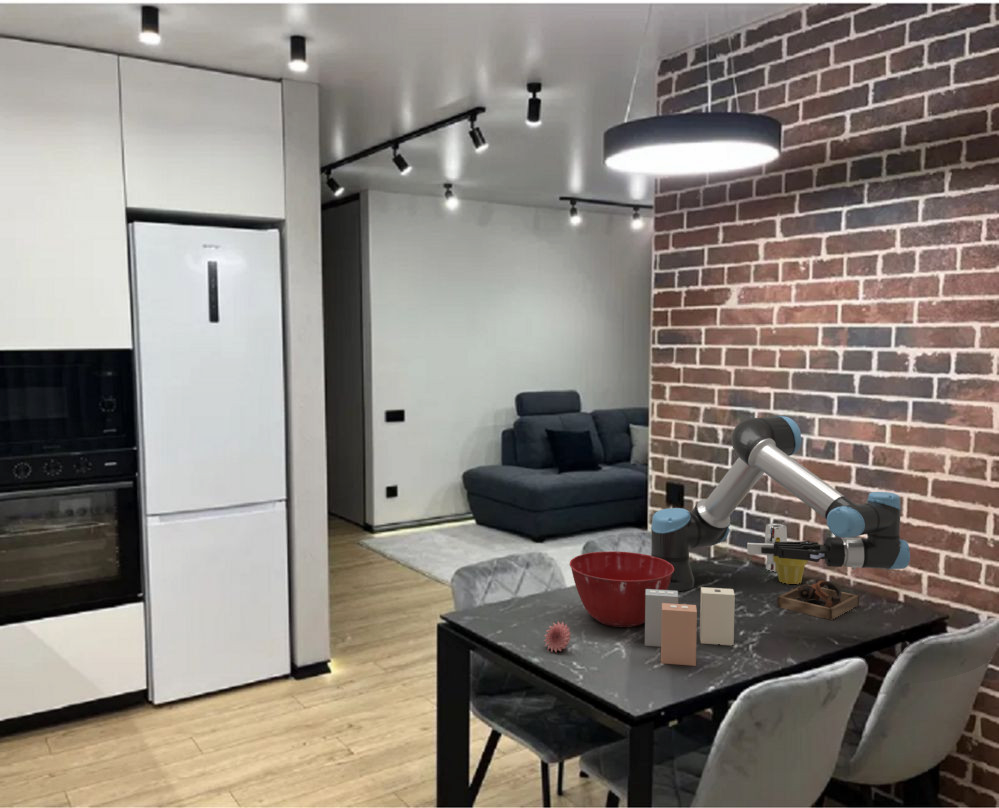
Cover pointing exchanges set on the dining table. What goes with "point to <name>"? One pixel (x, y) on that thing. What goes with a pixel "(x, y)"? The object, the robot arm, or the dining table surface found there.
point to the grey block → (656, 613)
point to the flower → (557, 637)
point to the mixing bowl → (618, 584)
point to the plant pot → (789, 569)
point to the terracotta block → (678, 634)
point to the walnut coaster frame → (791, 603)
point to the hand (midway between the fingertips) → (747, 548)
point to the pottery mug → (820, 593)
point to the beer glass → (771, 536)
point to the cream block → (717, 616)
